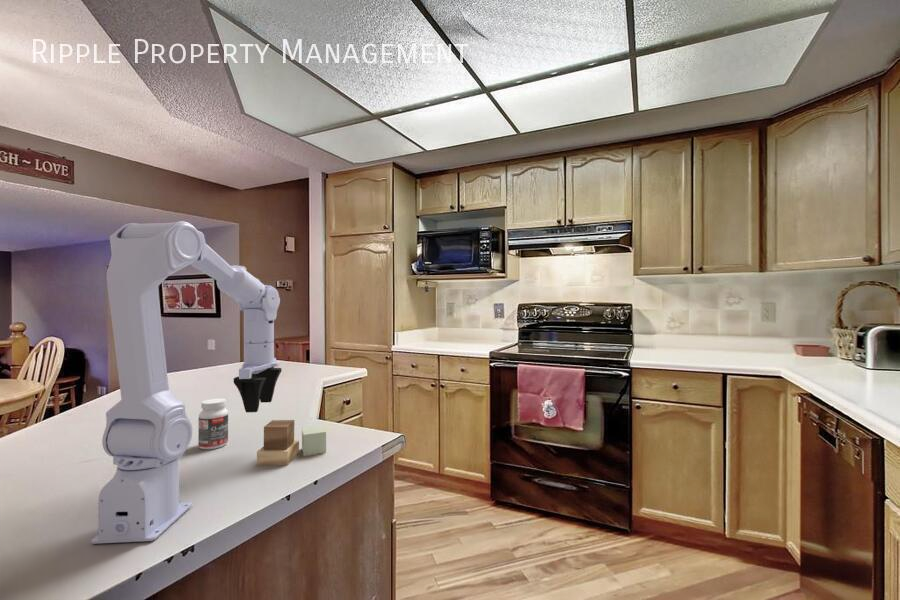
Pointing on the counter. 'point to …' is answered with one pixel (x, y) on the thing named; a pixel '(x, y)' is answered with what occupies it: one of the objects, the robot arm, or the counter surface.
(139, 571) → the counter surface
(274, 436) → the walnut cube
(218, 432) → the pill bottle
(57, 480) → the counter surface
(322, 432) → the sage block
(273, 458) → the oak block
